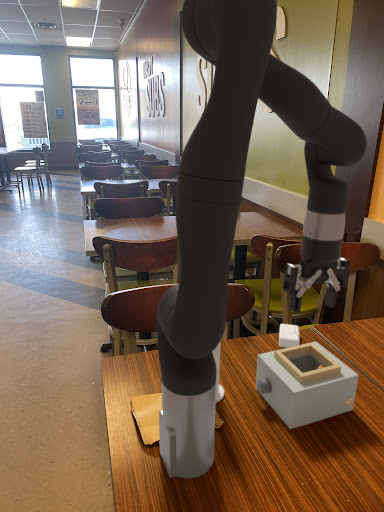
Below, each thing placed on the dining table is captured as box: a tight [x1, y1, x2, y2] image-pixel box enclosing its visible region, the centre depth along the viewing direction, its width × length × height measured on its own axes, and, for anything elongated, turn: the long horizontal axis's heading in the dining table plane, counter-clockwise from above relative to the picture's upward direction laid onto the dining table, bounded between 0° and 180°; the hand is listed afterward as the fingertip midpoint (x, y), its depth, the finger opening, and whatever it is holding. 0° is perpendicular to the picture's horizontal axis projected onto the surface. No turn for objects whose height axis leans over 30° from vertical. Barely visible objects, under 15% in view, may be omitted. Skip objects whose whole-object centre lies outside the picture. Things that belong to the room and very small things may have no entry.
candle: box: [212, 341, 225, 404], centre depth 86 cm, size 7×7×25 cm
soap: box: [278, 323, 300, 348], centre depth 112 cm, size 9×6×3 cm, turn 167°
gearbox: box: [254, 341, 360, 430], centre depth 87 cm, size 18×14×10 cm
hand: (312, 308), depth 82 cm, fingers open, 8 cm apart
